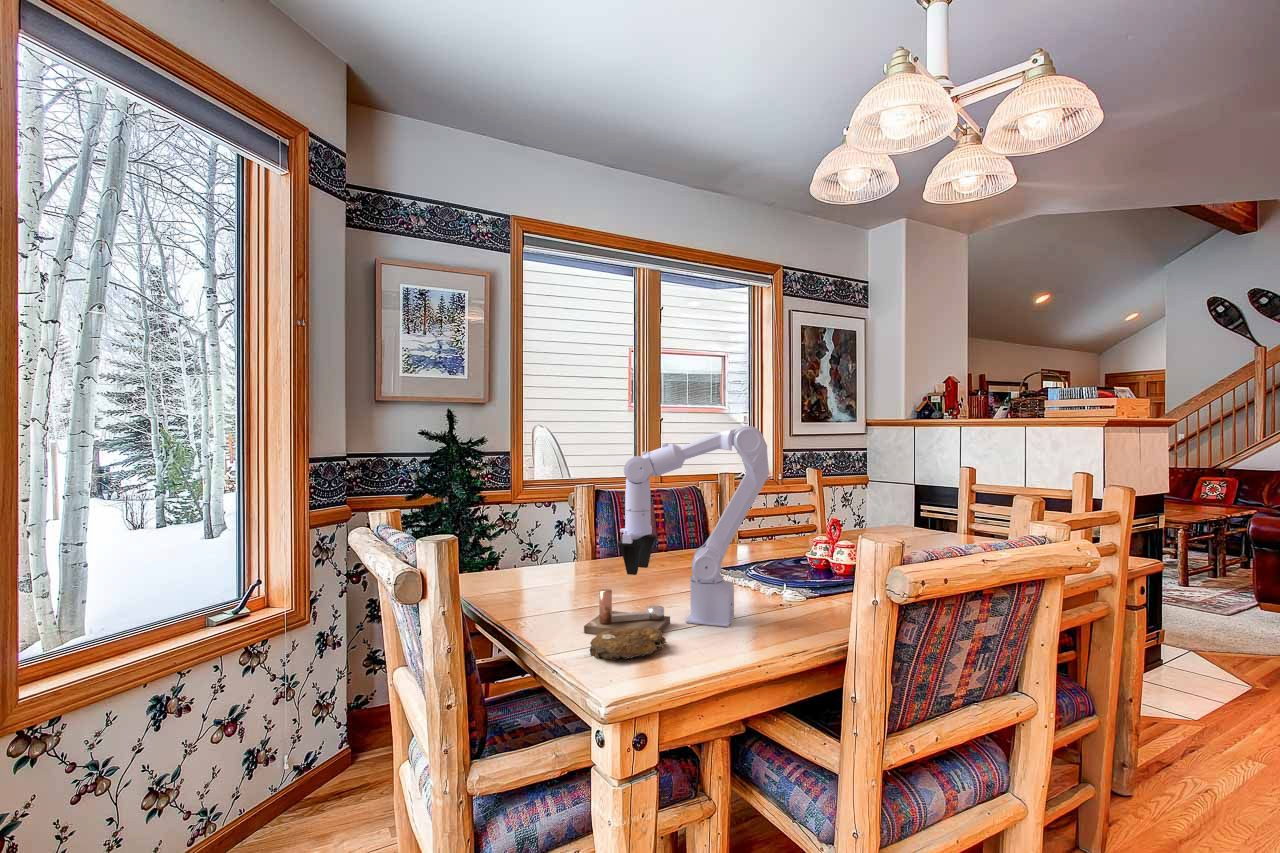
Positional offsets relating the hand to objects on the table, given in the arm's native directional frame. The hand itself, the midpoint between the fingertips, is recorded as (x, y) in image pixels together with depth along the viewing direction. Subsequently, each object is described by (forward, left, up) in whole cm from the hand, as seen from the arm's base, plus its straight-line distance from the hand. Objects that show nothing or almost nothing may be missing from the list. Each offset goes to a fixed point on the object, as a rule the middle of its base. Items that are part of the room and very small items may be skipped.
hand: (637, 570), depth 139 cm
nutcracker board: (-1, +8, -10) cm, 13 cm away
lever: (-1, +8, -9) cm, 12 cm away
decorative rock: (-5, +21, -11) cm, 24 cm away
